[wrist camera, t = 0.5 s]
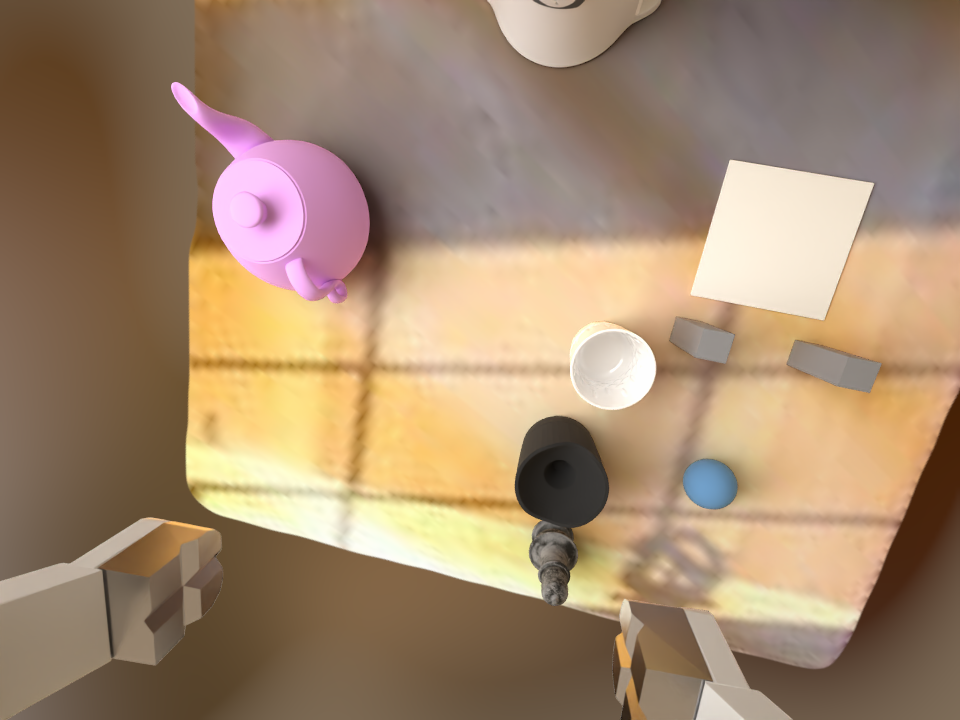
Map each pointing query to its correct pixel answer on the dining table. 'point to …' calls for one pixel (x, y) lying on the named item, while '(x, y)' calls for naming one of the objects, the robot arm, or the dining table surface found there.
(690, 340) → the post
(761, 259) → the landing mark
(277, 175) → the teapot
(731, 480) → the ball
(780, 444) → the dining table surface
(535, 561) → the grey chess piece
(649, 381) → the white cup
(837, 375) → the post
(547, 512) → the pen holder
